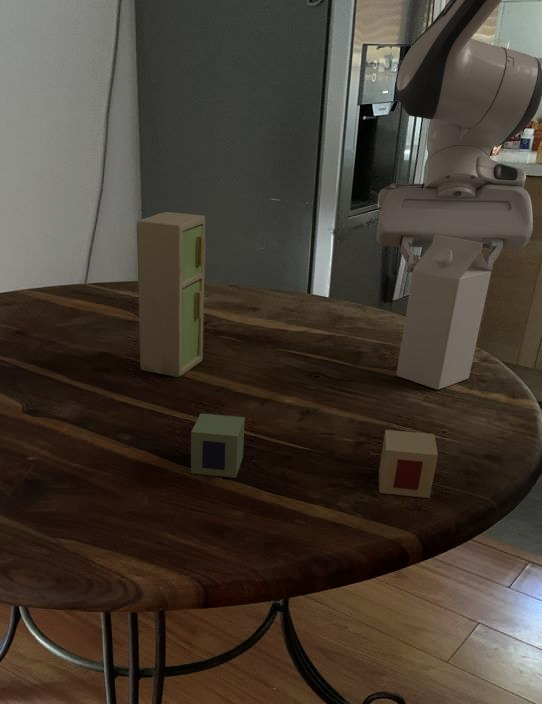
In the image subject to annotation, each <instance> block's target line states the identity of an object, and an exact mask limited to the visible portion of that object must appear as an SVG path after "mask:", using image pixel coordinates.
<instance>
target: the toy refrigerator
mask: <svg viewBox="0 0 542 704" xmlns="http://www.w3.org/2000/svg"><path fill="white" fill-rule="evenodd" d="M206 221H207V220H206V216H205V215H202V214H193V213H192V214H191V213H180V212H171V211H170V212H169V211H165V212H160V213H157V214H154V215H152V216H151V215H150V216H148V217H144V218H142V219H138V220H137V222H136V248H137V254H136V255H137V281H138V285H137V286H138V287H137V288H138V324H139V325H138V328H139V362H140V363H139V367H140V371H141V370H142V371H143V372H148V373H156V374H160V375H166V376H170V377H175V378H179V377H181V376H183V375H184V374H185V373H187V372H188V371H190V370H191V369H193V368H194V367H195V366H197V365H198V364H200V363H201V362H202V361H203V359H204V310H205V305H204V304H205V270H206V269H205V268H206V267H205V266H206V264H205V263H206Z"/></svg>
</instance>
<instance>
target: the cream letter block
mask: <svg viewBox="0 0 542 704" xmlns="http://www.w3.org/2000/svg"><path fill="white" fill-rule="evenodd" d="M438 457H439V453H438V447H437V441H436V435H435V433H426V432H417V431H416V432H415V431H404V430H395V429H394V430H393V429H385V430H384V436H383V443H382V448H381V455H380V462H379V469H378V493H379V494H385V495H386V494H387V495H396V496H405V497H414V498H424V499H430V497H431V493H432V488H433V483H434V477H435V474H436V473H435V472H436V467H437V462H438Z"/></svg>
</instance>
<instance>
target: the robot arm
mask: <svg viewBox="0 0 542 704" xmlns="http://www.w3.org/2000/svg"><path fill="white" fill-rule="evenodd" d="M502 1H503V0H448V2H447V3H446V5H445V6H444V7H443V9H442V10H441V11H440V13H439V14H438V15H437V16H436V17H435V18H434V20H433V21H432V22H431V23H430V24H429V25H428V27H427V28H425V29H424V31H422V33H421V34H420V35H418V36H417V38H416V40H414V41H413V43H412V44H411V46H410V47H409V49H408V50H407V52H406V54H405V56H404V58H403V60H402V62H401V64H400V67H399V69H398V72H397V75H396V79H395V91H396V95H397V98H398V100H399V102H400V104H401V106H402V108H403V110H404V111H405V113H406V114H407V115H408V117H414V118H419V119H420V118H421V119H426V120H429V121H428V127H427V132H426V133H427V135H426V151H427V158H426V159H425V163H424V167H423V178H422V183H398V182H395V183H390V184H389V185H387V186H385V187H383V188H382V189H380V191H379V192H378V196H377V208H378V209H379V210H380V213H379V217H378V222H377V229H376V235H375V240H376V241H377V243H378V244H379V245H380V246H381V247H396V248H397V247H399V248H400V251H399V252H400V254H401V256H402V257H403V259H404V260H405V262H406V273H413V269H414V267H415V266H416V264H417V263H418V262H419V261H420V259H421V255H420V254H419V255H417V254H415V253H414V251H413V250H412V248H425V249H426V248H427V249H429V247H430V246H431V245H432V243H433V238H434V235H439V236H445V237H451V238H456V239H462V240H468V241H473V242H479V243H482V248H481V250H487V251H488V255H489V256H488V257H484V259H485V261H486V263H487V264H488V266H489V268H490V270H491V273H492V272H493V268H494V263H495V261H496V260H497V259H498V258H499V256H500V254H501V252H502V251H513V252H517V251H518V252H519V251H521V250H522V249H524V248H525V247H526V245H528V243H529V241H530V239H531V236H532V234H533V230H534V229H533V228H534V217H533V215H534V214H533V203H532V199H531V196H530V193H529V192H528V190H526V189H525V185H526V180H527V172H526V171H525V170H524V169H523V168H520V167H516V166H512V165H509V164H506V163H502V162H499V161H496V160H494V159H492V158H491V157H490V155H491V152H492V150H493V149H494V148H495V147H496V148H498V147H501V146H502V145H503V144H505V143H507V142H508V141H509V140H511V139H512V138H513V137H515V136H516V135H518V134H520V132H522V131H523V130H524V129H525V128H526V127H527V126H528V125H529V124H530V122H531V121H532V120H533V119H534V117H535V116H536V114H537V112H538V110H539V107H540V104H541V102H542V65H541V63H540V61H539V59H538V58H537V57H535V56H533V55H530V54H527V53H523V52H521V51H518V50H514V49H510V48H507V47H503V46H498V45H495V44H491V43H487V42H484V41H480V40H477V39H473V37H474V36H475V34H477V32H478V30H479V29H480V28H481V27H482V26H483V24H484V23H485V22H486V21H487V20H488V18H489V17H490V16H491V14H492V13H493V12H494V11H495V10H496V8H497V7H498V6H499V5H500V4H501V2H502Z"/></svg>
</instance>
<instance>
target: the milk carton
mask: <svg viewBox="0 0 542 704" xmlns="http://www.w3.org/2000/svg"><path fill="white" fill-rule="evenodd" d="M481 248H482V243H479V242H473V241H468V240H462V239H456V238H451V237H445V236H439V235H434V238H433V243H432V245H431V246H430V247H429V248H427V250H425V252H424V254H423V255H422V257H420V261H419V262H418V263H417V264H416V266H415V267H414V269H413V272H411V273H412V274H411V278H410V279H411V280H410V285H409V292H408V297H407V305H406V311H405V317H404V323H403V330H402V338H401V343H400V349H399V354H398V355H399V357H398V361H397V368H396V376H397V377H400V378H402V379H405V380H408V381H410V382H414V383H417V384H420V385H422V386H425V387H428V388H431V389H433V390H439V391H440V390H442V389H444V388H447V387H449V386H453V385H455V384H458V383H461V382H462V381H465V380H467V379H468V380H469V378H470V375H471V370H472V365H473V360H474V356H475V355H474V354H475V351H476V346H477V343H478V342H477V341H478V337H479V332H480V327H481V322H482V317H483V312H484V308H485V304H486V297H487V295H488V294H487V293H488V289H489V284H490V279H491V275H492V272H491V270H490V268H489V266H488V264H487V263H486V261H485V259H484V258H485V257H484V255H483V252H482V249H481Z"/></svg>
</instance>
